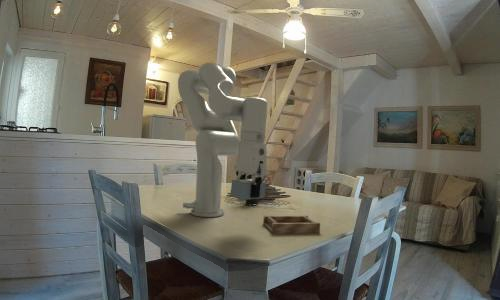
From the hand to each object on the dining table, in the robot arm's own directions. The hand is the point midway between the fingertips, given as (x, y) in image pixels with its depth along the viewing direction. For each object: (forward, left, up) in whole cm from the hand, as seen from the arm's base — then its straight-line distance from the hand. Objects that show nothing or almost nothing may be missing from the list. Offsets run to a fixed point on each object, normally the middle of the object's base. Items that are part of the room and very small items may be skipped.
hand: (248, 194), depth 93 cm
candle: (+12, +40, -12) cm, 43 cm away
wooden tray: (+15, +1, -11) cm, 19 cm away
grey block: (0, 0, -1) cm, 1 cm away
